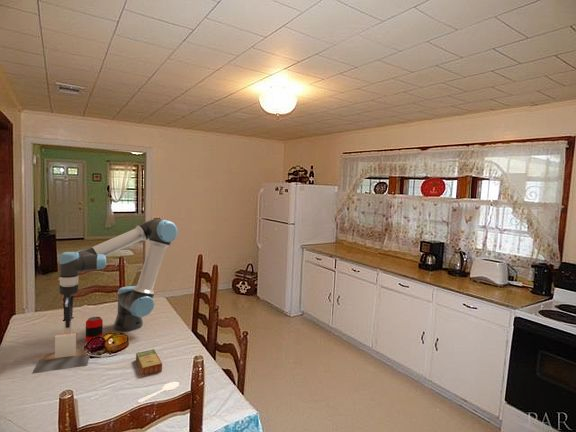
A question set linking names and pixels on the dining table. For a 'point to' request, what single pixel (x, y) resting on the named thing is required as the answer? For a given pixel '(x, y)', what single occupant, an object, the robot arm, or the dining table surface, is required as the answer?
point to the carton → (148, 362)
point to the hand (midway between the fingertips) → (67, 333)
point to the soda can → (93, 328)
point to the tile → (65, 345)
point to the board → (61, 362)
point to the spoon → (165, 388)
